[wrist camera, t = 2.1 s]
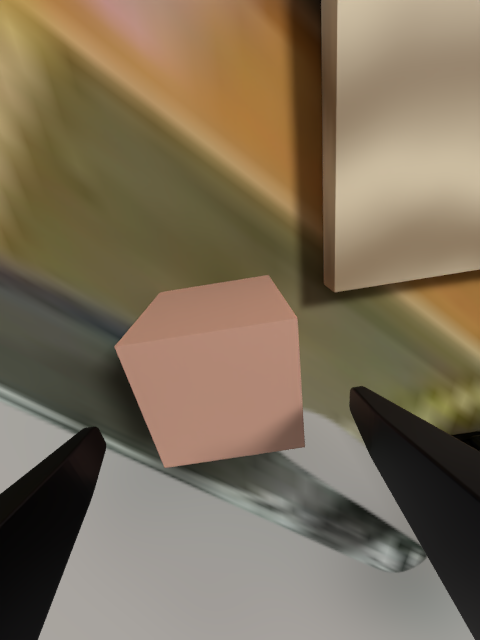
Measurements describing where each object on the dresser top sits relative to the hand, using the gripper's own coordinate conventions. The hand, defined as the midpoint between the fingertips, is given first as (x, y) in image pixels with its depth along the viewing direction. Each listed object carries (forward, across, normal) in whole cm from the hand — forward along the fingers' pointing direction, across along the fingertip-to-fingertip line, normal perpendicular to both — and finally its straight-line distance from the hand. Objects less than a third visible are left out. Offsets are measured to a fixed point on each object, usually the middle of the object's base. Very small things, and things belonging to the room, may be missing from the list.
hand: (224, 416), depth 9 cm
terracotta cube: (+7, 0, 0) cm, 7 cm away
